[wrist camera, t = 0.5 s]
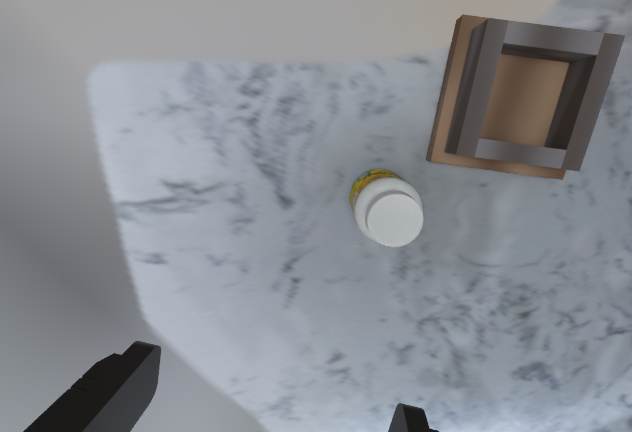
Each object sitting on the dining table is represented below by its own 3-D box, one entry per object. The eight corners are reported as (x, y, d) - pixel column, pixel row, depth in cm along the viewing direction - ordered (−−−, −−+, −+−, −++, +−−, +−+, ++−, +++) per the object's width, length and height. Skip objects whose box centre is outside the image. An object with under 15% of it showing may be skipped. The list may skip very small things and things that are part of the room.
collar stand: (596, 38, 28) (644, 22, 24) (552, 177, 31) (587, 185, 27) (456, 20, 28) (478, 0, 24) (426, 160, 32) (441, 165, 27)
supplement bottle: (347, 219, 33) (353, 254, 24) (351, 166, 32) (359, 181, 23) (401, 222, 33) (427, 259, 24) (407, 169, 32) (438, 186, 23)
